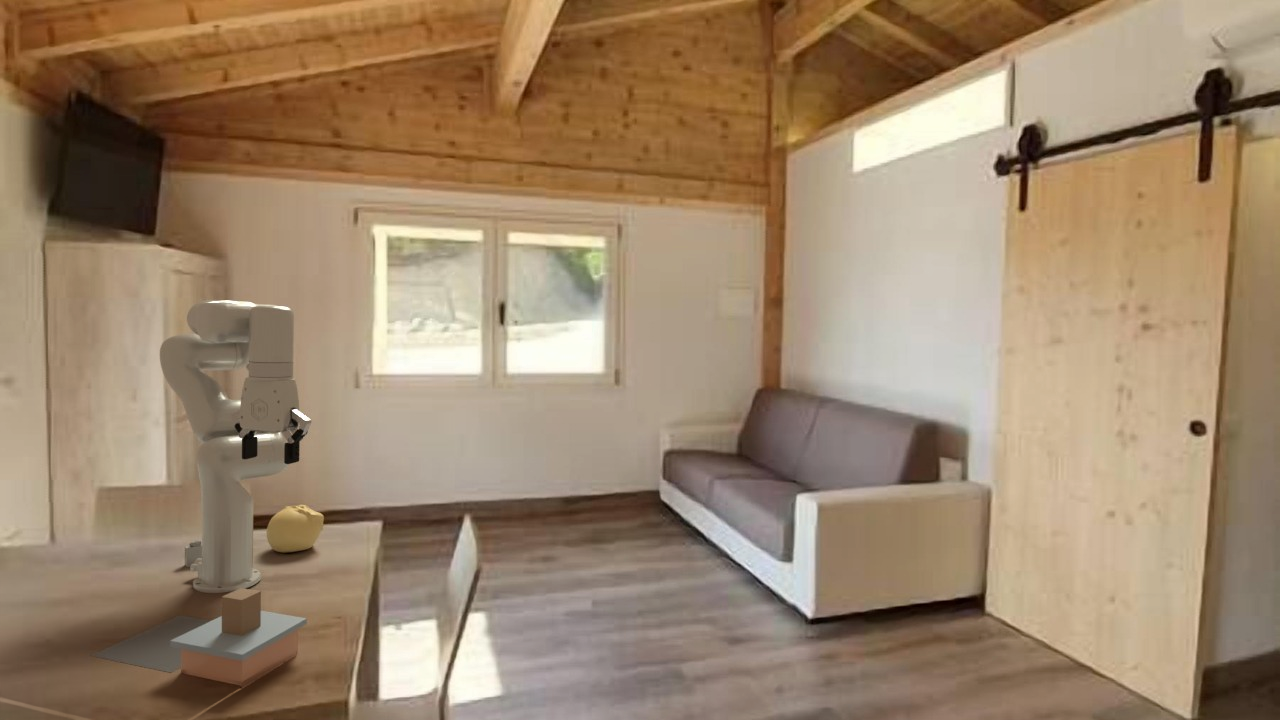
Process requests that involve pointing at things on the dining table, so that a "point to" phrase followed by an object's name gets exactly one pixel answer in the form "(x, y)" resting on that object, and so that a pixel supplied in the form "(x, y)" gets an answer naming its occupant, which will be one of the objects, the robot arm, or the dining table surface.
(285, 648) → the peach open tray
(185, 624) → the mat
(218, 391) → the robot arm
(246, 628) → the lid
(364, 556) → the dining table surface
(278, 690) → the dining table surface
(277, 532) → the sculpture
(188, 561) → the lighter
